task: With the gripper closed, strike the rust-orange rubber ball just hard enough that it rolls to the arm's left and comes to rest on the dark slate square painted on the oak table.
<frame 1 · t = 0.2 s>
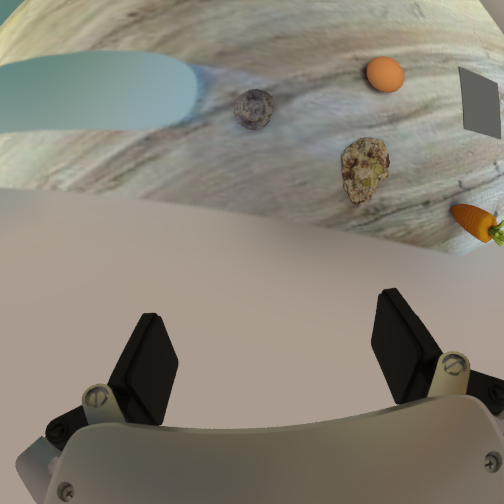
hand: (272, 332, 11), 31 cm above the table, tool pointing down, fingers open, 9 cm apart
mineral rock: (362, 169, 38), on the table
slate mark: (482, 104, 30), on the table
carrot: (451, 208, 40), on the table
seashell: (253, 111, 35), on the table
ball: (385, 74, 29), on the table
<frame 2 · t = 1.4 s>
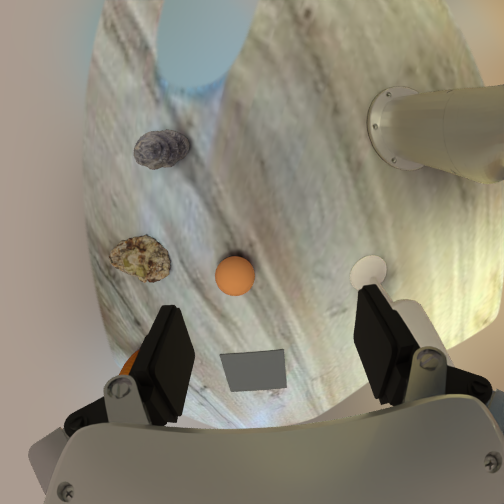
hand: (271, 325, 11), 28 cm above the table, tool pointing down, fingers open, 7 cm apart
mineral rock: (142, 255, 42), on the table
slate mark: (255, 372, 51), on the table
carrot: (145, 347, 50), on the table
seashell: (173, 146, 34), on the table
champagne flute: (368, 273, 42), on the table
ball: (234, 276, 39), on the table
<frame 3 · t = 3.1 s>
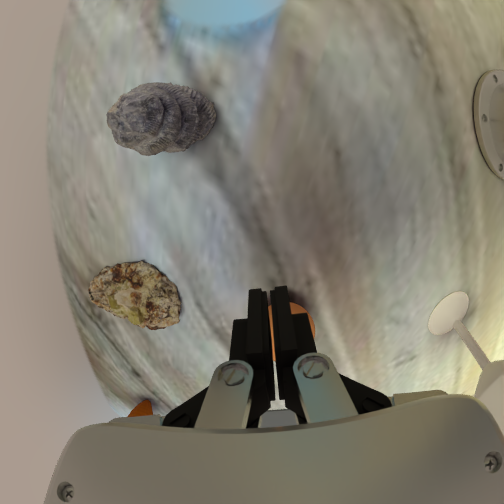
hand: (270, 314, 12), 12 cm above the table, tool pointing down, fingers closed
mineral rock: (137, 289, 27), on the table
slate mark: (289, 427, 37), on the table
carrot: (148, 399, 35), on the table
seashell: (185, 119, 20), on the table
champagne flute: (448, 313, 27), on the table
ball: (284, 332, 24), on the table
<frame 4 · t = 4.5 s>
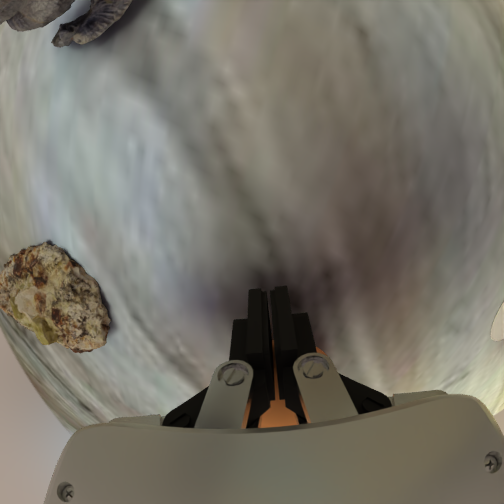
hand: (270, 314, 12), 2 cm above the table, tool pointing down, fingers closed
mineral rock: (54, 289, 15), on the table
seashell: (105, 11, 8), on the table
ball: (285, 389, 13), on the table
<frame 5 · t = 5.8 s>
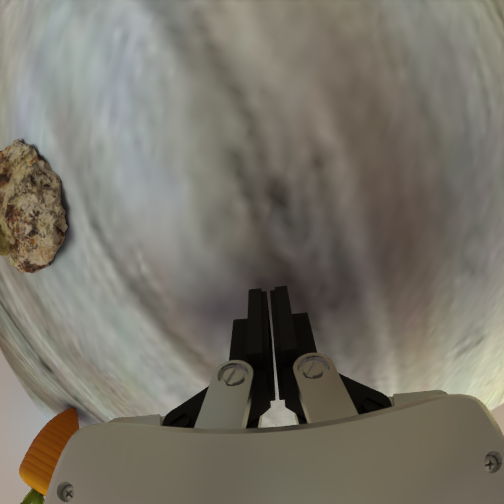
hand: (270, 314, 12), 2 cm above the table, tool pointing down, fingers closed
mineral rock: (18, 203, 12), on the table
carrot: (74, 407, 20), on the table
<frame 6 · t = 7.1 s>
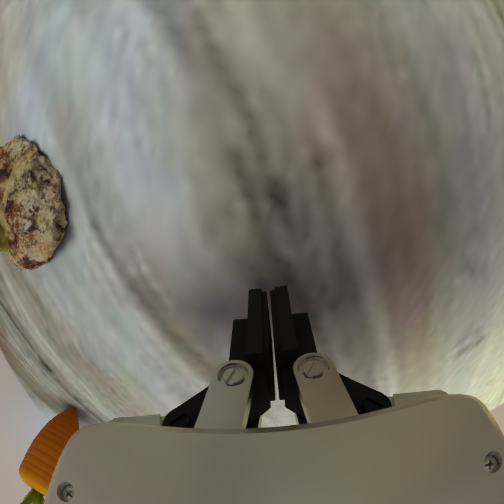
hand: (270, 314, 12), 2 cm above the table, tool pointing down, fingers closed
mineral rock: (18, 199, 12), on the table
carrot: (74, 407, 20), on the table
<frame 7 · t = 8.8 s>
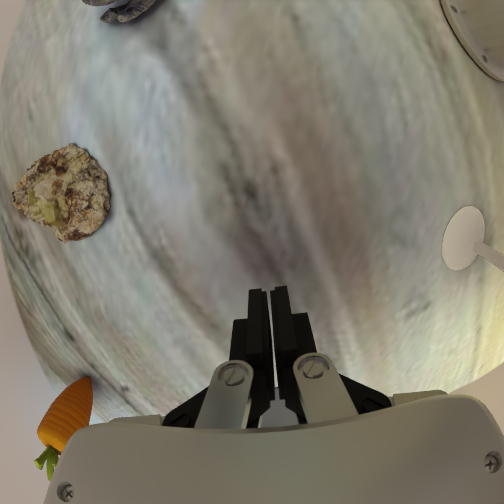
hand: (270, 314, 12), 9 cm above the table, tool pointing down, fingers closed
mineral rock: (65, 191, 19), on the table
slate mark: (271, 417, 28), on the table
carrot: (89, 376, 26), on the table
seashell: (135, 5, 13), on the table
champagne flute: (463, 238, 21), on the table
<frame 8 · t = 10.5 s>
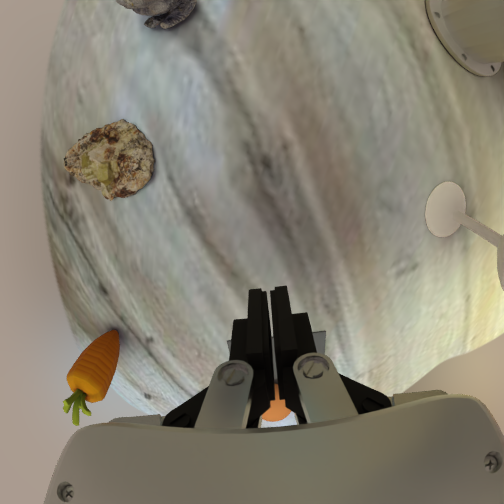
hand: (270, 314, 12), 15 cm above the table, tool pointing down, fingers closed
mineral rock: (112, 158, 24), on the table
slate mark: (279, 368, 34), on the table
carrot: (116, 330, 33), on the table
seashell: (172, 13, 18), on the table
champagne flute: (445, 209, 25), on the table
ball: (273, 402, 34), on the table
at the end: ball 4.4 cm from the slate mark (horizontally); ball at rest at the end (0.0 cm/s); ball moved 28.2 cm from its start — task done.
